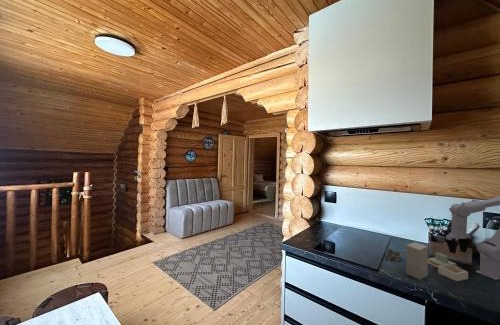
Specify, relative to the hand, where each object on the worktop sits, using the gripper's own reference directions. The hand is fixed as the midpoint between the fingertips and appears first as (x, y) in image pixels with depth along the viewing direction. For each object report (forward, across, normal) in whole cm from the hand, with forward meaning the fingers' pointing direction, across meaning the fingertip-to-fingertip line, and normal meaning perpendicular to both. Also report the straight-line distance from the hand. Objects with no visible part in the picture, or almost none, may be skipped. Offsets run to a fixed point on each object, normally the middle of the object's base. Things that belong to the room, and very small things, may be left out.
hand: (457, 252), depth 111 cm
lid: (+9, 0, -7) cm, 12 cm away
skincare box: (+12, +24, -2) cm, 27 cm away
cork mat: (+10, 0, -7) cm, 13 cm away
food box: (+11, +7, +3) cm, 13 cm away
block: (+10, +7, +3) cm, 13 cm away
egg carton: (+12, +18, -21) cm, 30 cm away
